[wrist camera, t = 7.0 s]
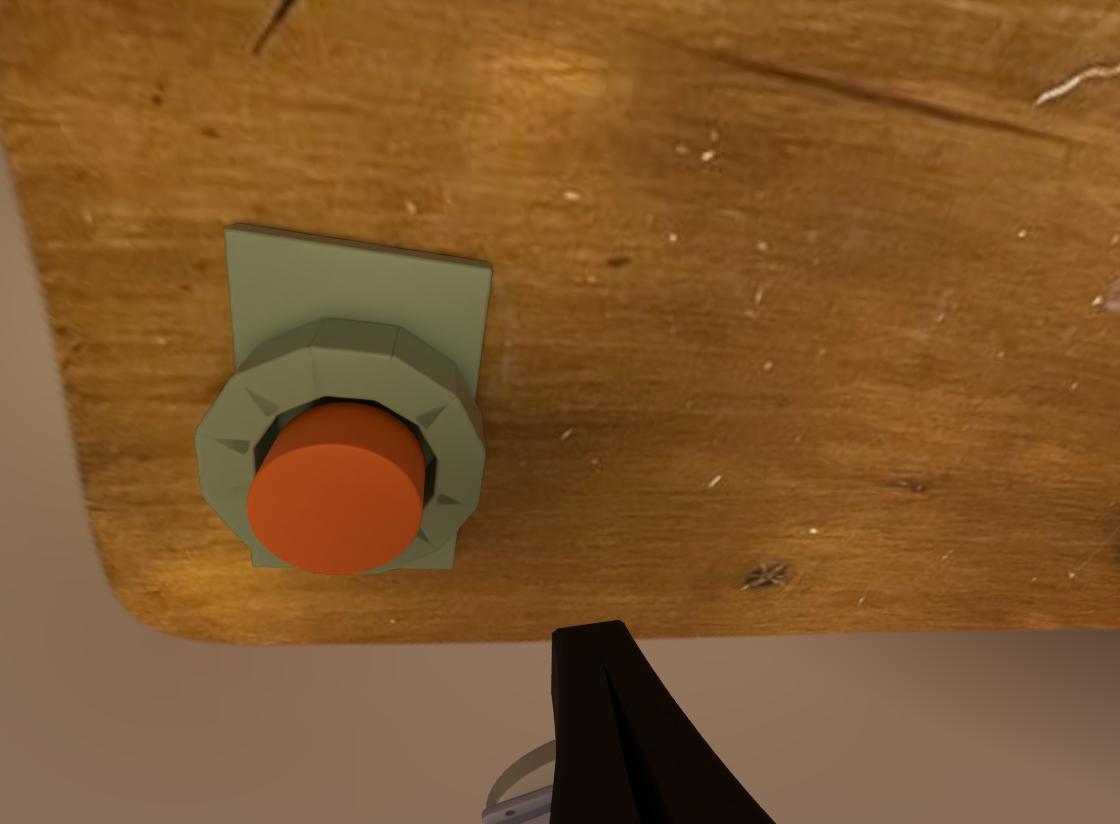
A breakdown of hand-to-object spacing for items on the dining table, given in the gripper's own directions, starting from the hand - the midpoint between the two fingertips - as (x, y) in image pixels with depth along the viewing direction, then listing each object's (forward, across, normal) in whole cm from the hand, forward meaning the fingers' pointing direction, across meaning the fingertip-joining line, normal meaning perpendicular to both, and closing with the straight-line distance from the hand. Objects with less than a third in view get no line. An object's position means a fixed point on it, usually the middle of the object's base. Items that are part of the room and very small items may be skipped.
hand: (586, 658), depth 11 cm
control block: (+8, +5, -2) cm, 9 cm away
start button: (+5, +5, -2) cm, 7 cm away
